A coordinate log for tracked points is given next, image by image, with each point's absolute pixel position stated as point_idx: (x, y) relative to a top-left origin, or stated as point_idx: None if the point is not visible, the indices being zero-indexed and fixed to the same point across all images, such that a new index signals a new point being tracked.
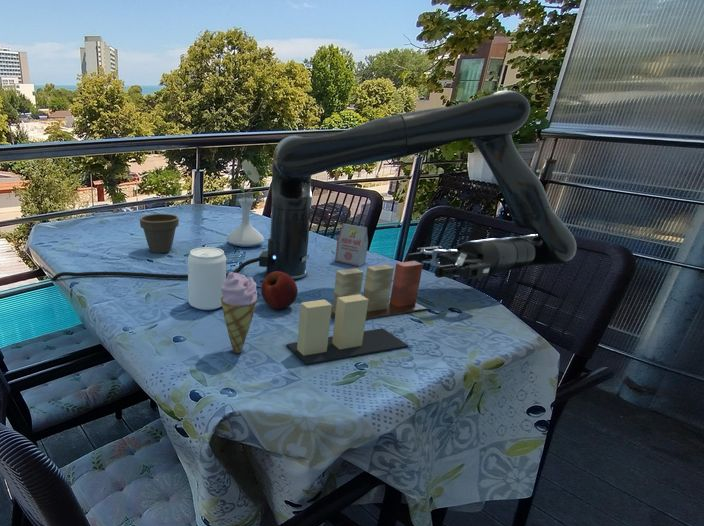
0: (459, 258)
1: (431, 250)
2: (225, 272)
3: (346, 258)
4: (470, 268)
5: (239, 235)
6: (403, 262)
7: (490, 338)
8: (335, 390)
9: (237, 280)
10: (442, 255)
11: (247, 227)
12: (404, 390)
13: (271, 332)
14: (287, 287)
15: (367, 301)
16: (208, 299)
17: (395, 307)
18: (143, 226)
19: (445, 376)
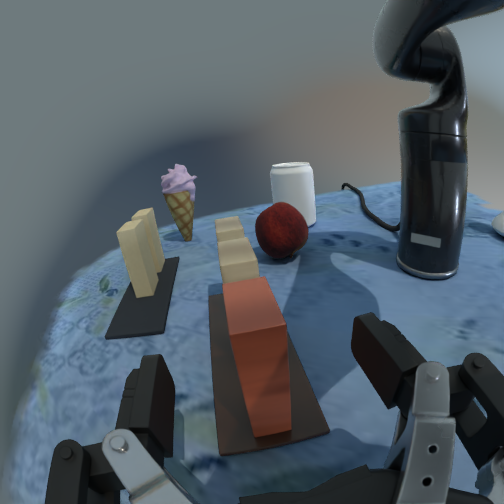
0: (170, 497)
1: (498, 428)
2: (286, 189)
3: None
4: (56, 449)
5: (500, 215)
6: (267, 290)
7: (48, 464)
8: (100, 273)
9: (168, 170)
10: (368, 473)
11: None
12: (65, 304)
13: (213, 252)
14: (258, 223)
15: (117, 234)
16: None
17: None
18: None
19: (48, 338)
